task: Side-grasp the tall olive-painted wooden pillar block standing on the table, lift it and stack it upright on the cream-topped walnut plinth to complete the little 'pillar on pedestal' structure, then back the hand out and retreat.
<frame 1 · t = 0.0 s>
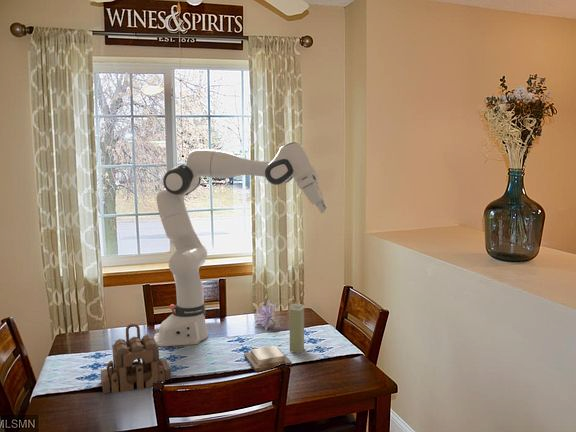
hand: (324, 210, 194), 54 cm above the table, tool tilted 30°, fingers open, 8 cm apart
water lily: (264, 325, 222), on the table
wooden puzzle: (136, 381, 169), on the table
plinth: (267, 360, 184), on the table
olive pillar: (296, 350, 194), on the table
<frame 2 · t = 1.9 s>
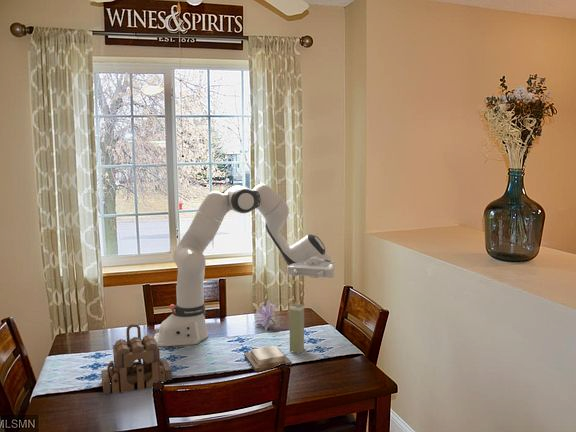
hand: (305, 274, 202), 27 cm above the table, tool horizontal, fingers open, 8 cm apart
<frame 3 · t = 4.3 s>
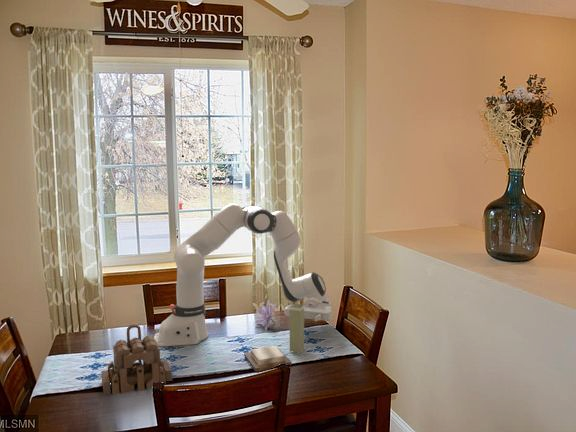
hand: (303, 318, 201), 10 cm above the table, tool horizontal, fingers open, 8 cm apart
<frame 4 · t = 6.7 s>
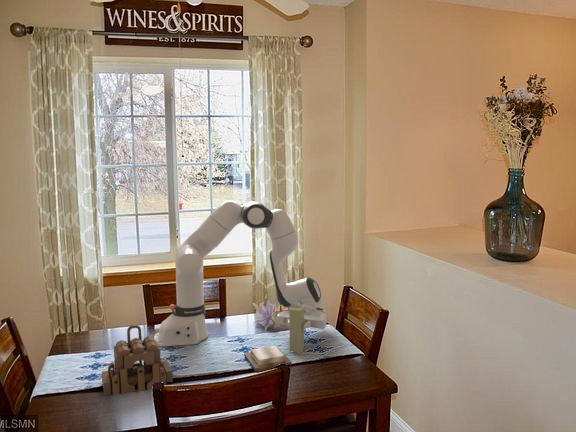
hand: (296, 326, 192), 10 cm above the table, tool horizontal, fingers closed on olive pillar, 4 cm apart
olive pillar: (296, 350, 194), on the table, touching gripper
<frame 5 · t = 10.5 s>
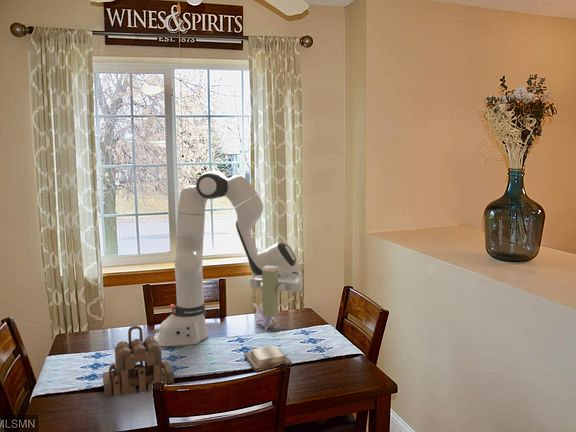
hand: (269, 288, 181), 28 cm above the table, tool horizontal, fingers closed on olive pillar, 4 cm apart
olive pillar: (270, 314, 183), point 18 cm above the table, touching gripper
when the fingers open (14 cm above the table, at t = 14.5 s): olive pillar drops 1 cm, resting on plinth.
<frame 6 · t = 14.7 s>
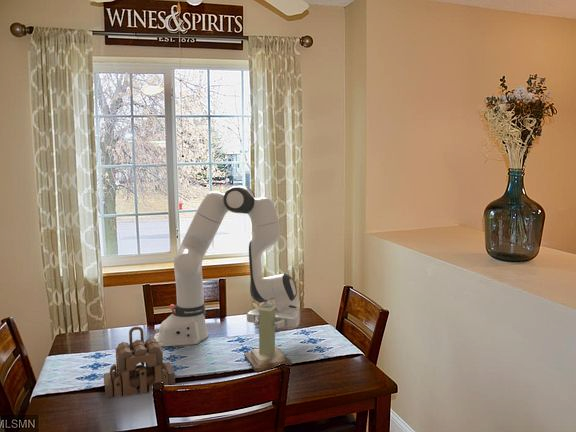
hand: (266, 324, 182), 14 cm above the table, tool horizontal, fingers open, 7 cm apart
olive pillar: (267, 352, 184), point 3 cm above the table, touching plinth
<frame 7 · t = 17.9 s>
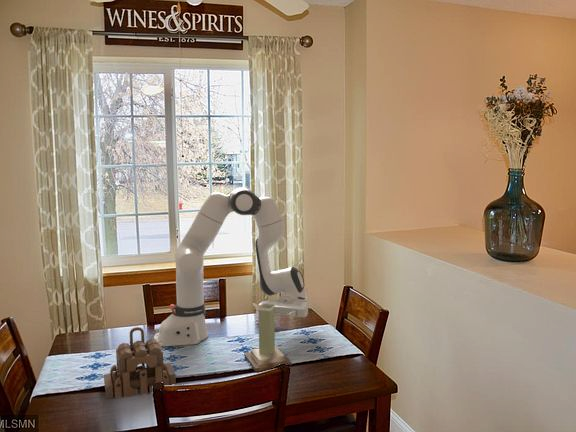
hand: (276, 315, 192), 14 cm above the table, tool horizontal, fingers open, 8 cm apart
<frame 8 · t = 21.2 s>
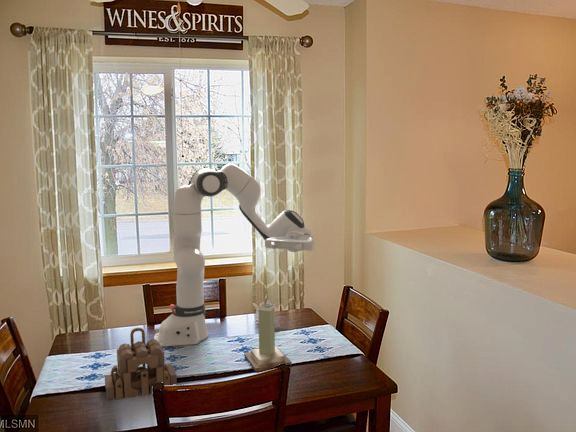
hand: (283, 247, 194), 40 cm above the table, tool horizontal, fingers open, 8 cm apart
at the end: olive pillar inside the target area on the plinth (0.1 cm from its centre), point 3.2 cm above the plinth's base; olive pillar tilted 0°; the gripper is holding nothing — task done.
